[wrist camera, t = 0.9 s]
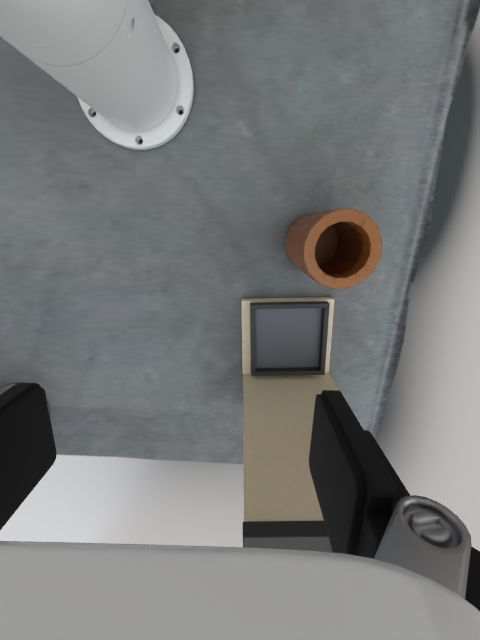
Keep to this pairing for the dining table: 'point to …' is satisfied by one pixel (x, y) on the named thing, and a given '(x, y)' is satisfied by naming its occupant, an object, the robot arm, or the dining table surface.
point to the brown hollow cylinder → (335, 247)
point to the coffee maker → (283, 419)
